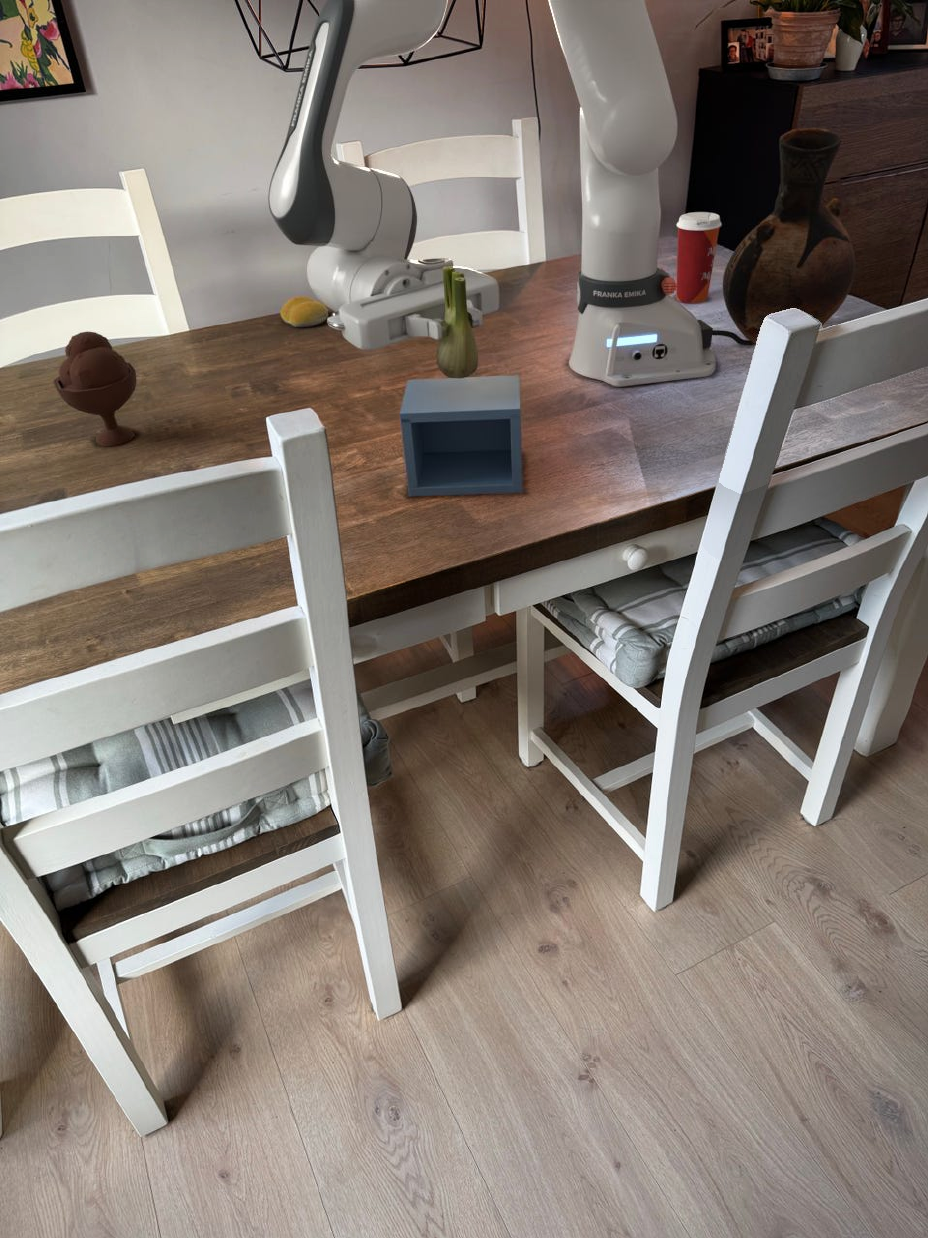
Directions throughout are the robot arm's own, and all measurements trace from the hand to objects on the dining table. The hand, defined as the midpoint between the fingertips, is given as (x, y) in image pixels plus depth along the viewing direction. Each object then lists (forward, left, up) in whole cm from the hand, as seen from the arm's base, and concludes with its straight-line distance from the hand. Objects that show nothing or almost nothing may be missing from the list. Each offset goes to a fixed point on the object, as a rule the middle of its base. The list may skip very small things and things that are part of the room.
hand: (460, 325), depth 97 cm
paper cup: (-39, -66, -20) cm, 79 cm away
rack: (0, -1, -19) cm, 19 cm away
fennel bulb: (+1, -1, -6) cm, 6 cm away
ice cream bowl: (+52, -16, -20) cm, 58 cm away
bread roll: (+33, -64, -20) cm, 75 cm away
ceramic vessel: (-49, -43, -20) cm, 68 cm away
